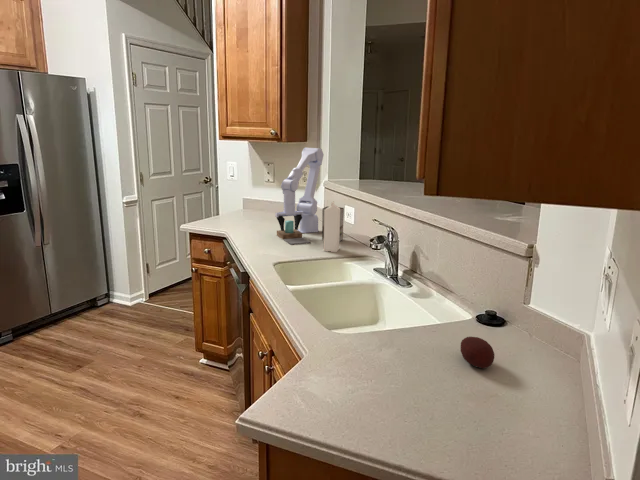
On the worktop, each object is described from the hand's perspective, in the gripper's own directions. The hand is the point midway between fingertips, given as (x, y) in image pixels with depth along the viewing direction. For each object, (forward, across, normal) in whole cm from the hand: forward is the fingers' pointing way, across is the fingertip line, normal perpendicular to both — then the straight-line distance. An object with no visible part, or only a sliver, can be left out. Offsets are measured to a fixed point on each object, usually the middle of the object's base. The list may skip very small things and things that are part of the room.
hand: (289, 230), depth 233 cm
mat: (+3, +1, +11) cm, 12 cm away
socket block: (+3, 0, 0) cm, 3 cm away
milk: (+4, -6, +32) cm, 32 cm away
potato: (+4, +14, +137) cm, 138 cm away
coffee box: (+4, -17, +14) cm, 22 cm away
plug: (+3, 0, 0) cm, 3 cm away
